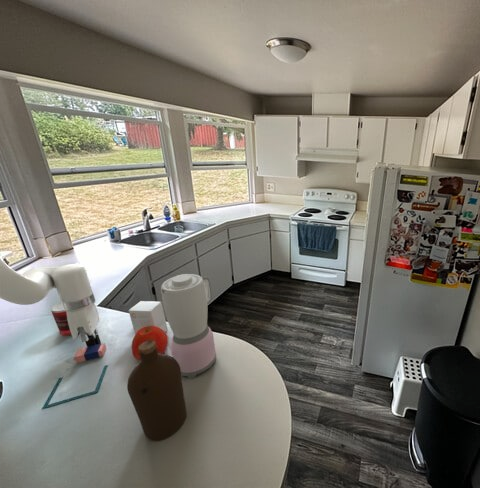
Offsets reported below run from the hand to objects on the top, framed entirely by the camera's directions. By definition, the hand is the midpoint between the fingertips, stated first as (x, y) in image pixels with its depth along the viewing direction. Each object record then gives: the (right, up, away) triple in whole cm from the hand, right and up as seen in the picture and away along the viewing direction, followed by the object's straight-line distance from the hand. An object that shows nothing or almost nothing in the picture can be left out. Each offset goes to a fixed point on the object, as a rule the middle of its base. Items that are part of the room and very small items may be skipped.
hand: (94, 346), depth 88 cm
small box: (+15, +1, +8) cm, 17 cm away
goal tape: (+7, -6, -13) cm, 16 cm away
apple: (+21, -2, -1) cm, 21 cm away
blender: (+39, -4, -3) cm, 39 cm away
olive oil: (+40, -11, -22) cm, 47 cm away
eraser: (+2, -2, -3) cm, 4 cm away
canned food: (-16, +3, +9) cm, 19 cm away
